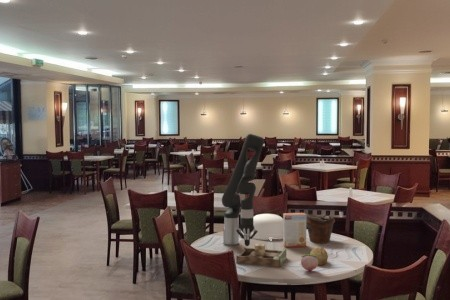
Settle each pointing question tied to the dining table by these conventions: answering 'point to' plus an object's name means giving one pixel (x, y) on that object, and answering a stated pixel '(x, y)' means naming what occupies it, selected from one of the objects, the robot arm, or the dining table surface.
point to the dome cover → (268, 226)
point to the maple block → (260, 249)
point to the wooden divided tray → (262, 257)
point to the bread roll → (320, 255)
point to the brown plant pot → (319, 228)
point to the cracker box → (294, 229)
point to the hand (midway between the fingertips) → (247, 245)
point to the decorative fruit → (309, 261)
